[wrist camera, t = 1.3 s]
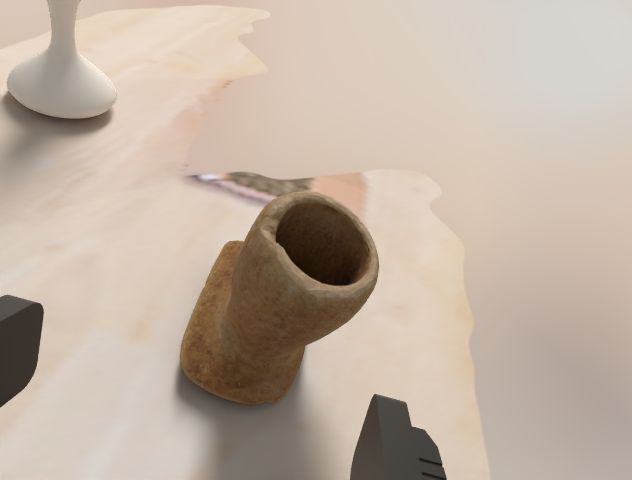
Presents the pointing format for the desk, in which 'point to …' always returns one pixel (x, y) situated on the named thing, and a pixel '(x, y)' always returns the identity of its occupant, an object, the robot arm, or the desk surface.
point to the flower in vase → (62, 74)
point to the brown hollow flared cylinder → (278, 297)
